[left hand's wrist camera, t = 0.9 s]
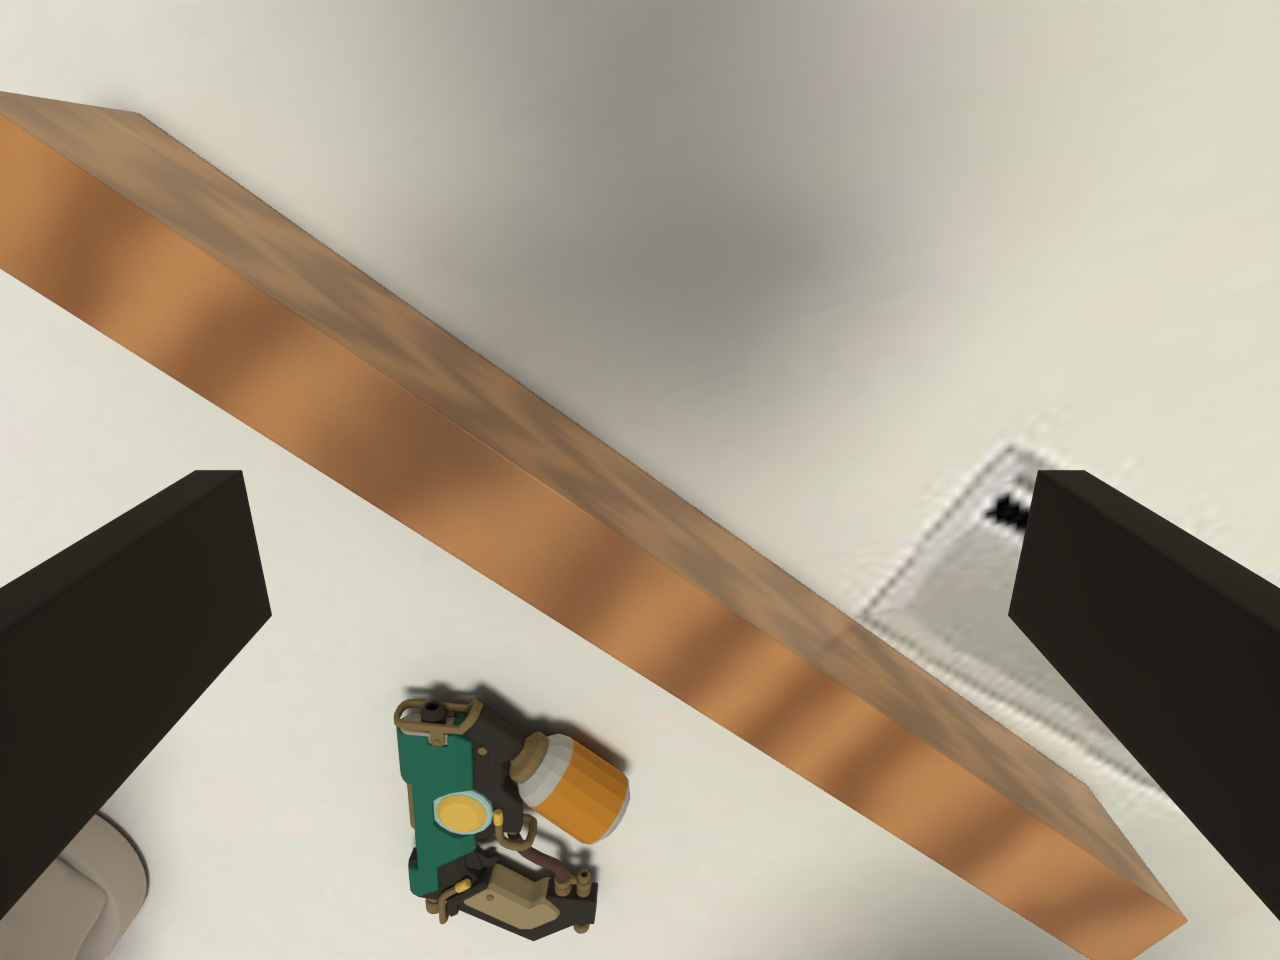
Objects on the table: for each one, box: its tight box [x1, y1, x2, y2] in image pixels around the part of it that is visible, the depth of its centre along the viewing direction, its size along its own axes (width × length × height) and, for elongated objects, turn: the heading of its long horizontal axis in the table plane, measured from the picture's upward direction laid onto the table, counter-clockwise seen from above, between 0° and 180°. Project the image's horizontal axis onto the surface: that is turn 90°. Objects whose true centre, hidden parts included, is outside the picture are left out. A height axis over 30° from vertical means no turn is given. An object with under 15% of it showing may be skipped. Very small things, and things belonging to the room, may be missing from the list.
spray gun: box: [394, 699, 630, 941], centre depth 42 cm, size 4×17×15 cm
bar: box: [0, 91, 1187, 960], centre depth 34 cm, size 60×5×9 cm, turn 53°
